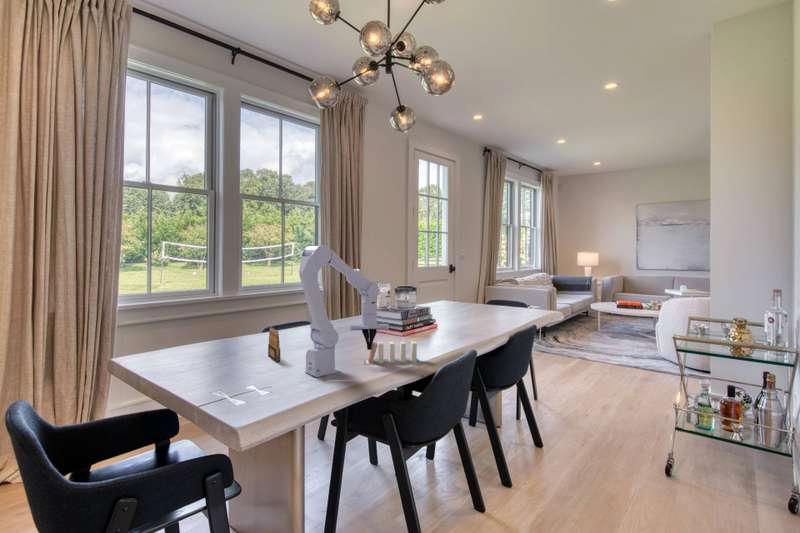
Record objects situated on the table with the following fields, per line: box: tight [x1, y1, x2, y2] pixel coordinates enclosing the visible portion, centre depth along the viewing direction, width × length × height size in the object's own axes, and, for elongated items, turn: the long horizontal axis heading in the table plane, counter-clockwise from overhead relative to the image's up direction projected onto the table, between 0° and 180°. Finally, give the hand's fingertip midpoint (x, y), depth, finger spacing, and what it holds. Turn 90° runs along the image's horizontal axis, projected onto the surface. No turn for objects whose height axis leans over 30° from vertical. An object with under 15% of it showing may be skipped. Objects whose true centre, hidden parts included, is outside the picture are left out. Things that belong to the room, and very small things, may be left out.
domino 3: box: [399, 341, 407, 362], centre depth 156 cm, size 2×4×7 cm, turn 8°
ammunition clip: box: [267, 326, 281, 363], centre depth 159 cm, size 11×2×12 cm, turn 33°
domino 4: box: [410, 340, 418, 362], centre depth 156 cm, size 2×4×7 cm, turn 8°
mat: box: [363, 357, 421, 366], centre depth 155 cm, size 21×7×1 cm, turn 98°
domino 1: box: [377, 341, 384, 363], centre depth 154 cm, size 2×4×7 cm, turn 8°
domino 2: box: [388, 341, 396, 363], centre depth 155 cm, size 2×4×7 cm, turn 8°
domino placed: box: [367, 341, 378, 363], centre depth 154 cm, size 2×4×7 cm, turn 9°
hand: (369, 349), depth 154 cm, fingers closed
